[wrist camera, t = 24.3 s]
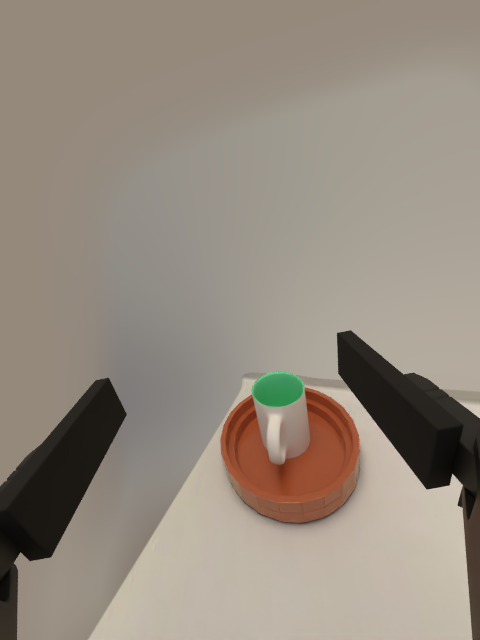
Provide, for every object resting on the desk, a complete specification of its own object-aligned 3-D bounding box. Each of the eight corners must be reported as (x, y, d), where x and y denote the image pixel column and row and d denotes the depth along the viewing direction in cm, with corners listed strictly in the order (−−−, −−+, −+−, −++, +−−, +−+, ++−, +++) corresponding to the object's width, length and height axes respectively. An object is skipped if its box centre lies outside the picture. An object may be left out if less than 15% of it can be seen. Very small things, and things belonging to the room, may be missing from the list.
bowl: (214, 521, 31) (205, 500, 29) (236, 406, 49) (232, 389, 48) (384, 529, 27) (386, 505, 25) (338, 400, 45) (337, 382, 44)
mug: (313, 488, 31) (306, 432, 28) (255, 482, 34) (241, 429, 30) (308, 418, 42) (303, 371, 38) (265, 417, 44) (256, 372, 40)
